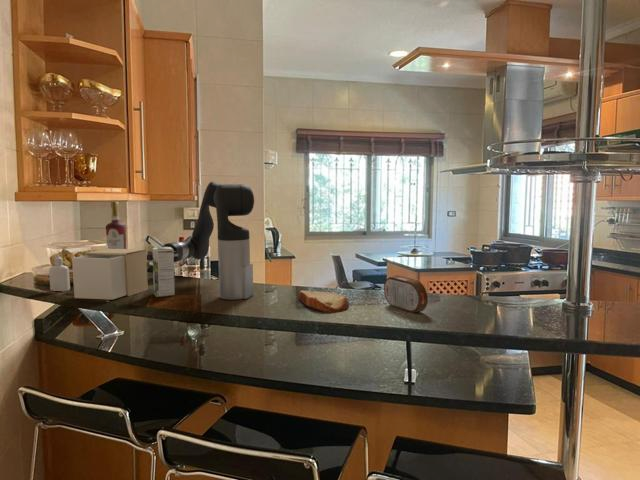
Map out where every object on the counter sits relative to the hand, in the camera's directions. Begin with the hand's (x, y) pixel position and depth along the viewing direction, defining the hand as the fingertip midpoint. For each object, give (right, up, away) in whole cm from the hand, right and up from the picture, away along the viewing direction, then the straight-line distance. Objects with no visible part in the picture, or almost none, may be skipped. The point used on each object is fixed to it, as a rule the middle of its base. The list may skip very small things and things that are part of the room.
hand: (148, 257), depth 168 cm
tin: (+82, -12, -42) cm, 93 cm away
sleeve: (-4, -10, -15) cm, 19 cm away
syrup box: (+12, -11, -20) cm, 26 cm away
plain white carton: (-5, -10, -18) cm, 21 cm away
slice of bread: (+60, -12, -34) cm, 70 cm away
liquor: (-19, -7, +19) cm, 28 cm away
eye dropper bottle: (-24, -11, -12) cm, 29 cm away
